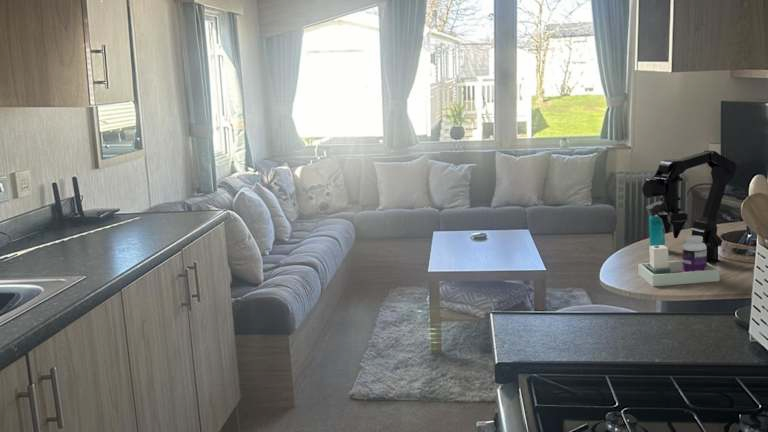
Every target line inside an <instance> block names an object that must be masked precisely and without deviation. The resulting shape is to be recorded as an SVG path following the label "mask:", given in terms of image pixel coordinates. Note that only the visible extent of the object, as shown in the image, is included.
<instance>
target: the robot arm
mask: <svg viewBox="0 0 768 432" xmlns="http://www.w3.org/2000/svg"><path fill="white" fill-rule="evenodd" d="M705 164H707V167H709V168H710V169H711V171H710V175H711V180H712V182H711V187H710V189H709V193H708V196H707V199H706V203H705V205H704V209H703V212H702V216H701V218H700V219H698V220H694V221H693V224H692V228H691V229H690V230H691V236H702V237H703V241H702V243H704V244H705V245H706V247H707V263H716V262H717V263H718V262H721V259H719V247H721V246H722V244H723V239H722V238H721V237H720V236H719V235H718V226H717V222H716V220H717V217H718V214H719V210H720V207H721V204H722V200H723V199H724V198H723V197H724V195H725V191H726V187H727V185H728V183H730V182H731V181H732V180H733V178H734V176H735V174H736V172H737V169H738V166H737V164H736V162H735V161H734V160H730V158H727V157H725V156H723V155H721V154H720V153H719V152H717V151H715V150H711V149H710V150H707V149H706V150H703V151H701V152H699V153H696V154H692V155H689V156H685V157H682V158H672V159H664V160H661V161H660V163H659V165H658V167H657V169H656V171H655V172H654V174H653V176H652V178H646V179H645V183H643V185H642V187H641V189H642V190H641V191H642V195H643V196H644V197H645V199H649V198H658V197H659V201H656V202H654V203H651V204H649V205H647V206H645V208H646V210H647V213H648V215H649V216H650V215H651V216H655V215H657V216H658V217H659V218H661V221H662V224H663V227H664V232H665V234H669V233H670V229H672V236H673V239H677V238H678V237H679V236H680V234H681V231H682V229H683V227H684V225H685V224H686V223H687V221H688V220H689V214H687V212H685V211H682V209H681V208H680V203H679V201H681V199H682V198H681V197H680V195H679V193H680V191H679V182H683V181H684V178H683V177H681V176H680V175H682V174H684V173H685V172H686V171H687V170H688V169H691V168H695V167H698V166H702V165H705Z"/></svg>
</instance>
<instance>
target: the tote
mask: <svg viewBox="0 0 768 432" xmlns="http://www.w3.org/2000/svg"><path fill="white" fill-rule="evenodd" d="M647 264H650V262H645V263H638V264H637V265H638V266H637V268H638V269H637V270H638V276H640V277H641V278H642V279H643V280H645V281H646V282H647V284H650V286H652V287H664V286H675V285H686V284H688V285H689V284H701V283H713V282H720V269H718V268H717V267H715V266H714V265H712V264H711V263H710V262H707V270H704V271H692V272H682V260H672V261H669V260H668V264H669V266H670V267H671V273H667V274H655V275H654V274H653V273H651V272H650V271H649V270H648V269H646V265H647Z"/></svg>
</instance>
